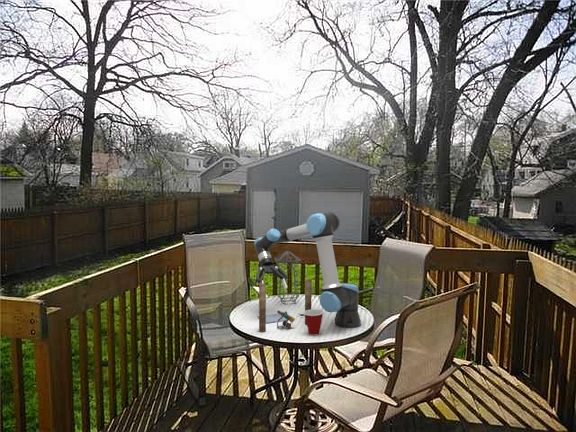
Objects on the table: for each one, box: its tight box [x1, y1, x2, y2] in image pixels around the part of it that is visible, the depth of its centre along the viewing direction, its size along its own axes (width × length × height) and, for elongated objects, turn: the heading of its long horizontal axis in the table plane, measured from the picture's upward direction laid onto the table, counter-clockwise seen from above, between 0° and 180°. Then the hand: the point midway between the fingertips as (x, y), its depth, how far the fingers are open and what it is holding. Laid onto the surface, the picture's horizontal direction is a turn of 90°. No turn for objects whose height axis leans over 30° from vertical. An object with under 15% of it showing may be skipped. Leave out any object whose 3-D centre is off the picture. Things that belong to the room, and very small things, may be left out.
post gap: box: [258, 278, 313, 333], centre depth 246 cm, size 4×32×26 cm, turn 116°
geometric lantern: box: [273, 250, 302, 305], centre depth 299 cm, size 16×16×35 cm
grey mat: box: [257, 313, 290, 325], centre depth 263 cm, size 14×14×1 cm
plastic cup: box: [303, 308, 325, 336], centre depth 238 cm, size 11×11×12 cm
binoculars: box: [276, 310, 296, 330], centre depth 246 cm, size 9×9×10 cm
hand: (275, 290), depth 258 cm, fingers open, 13 cm apart
